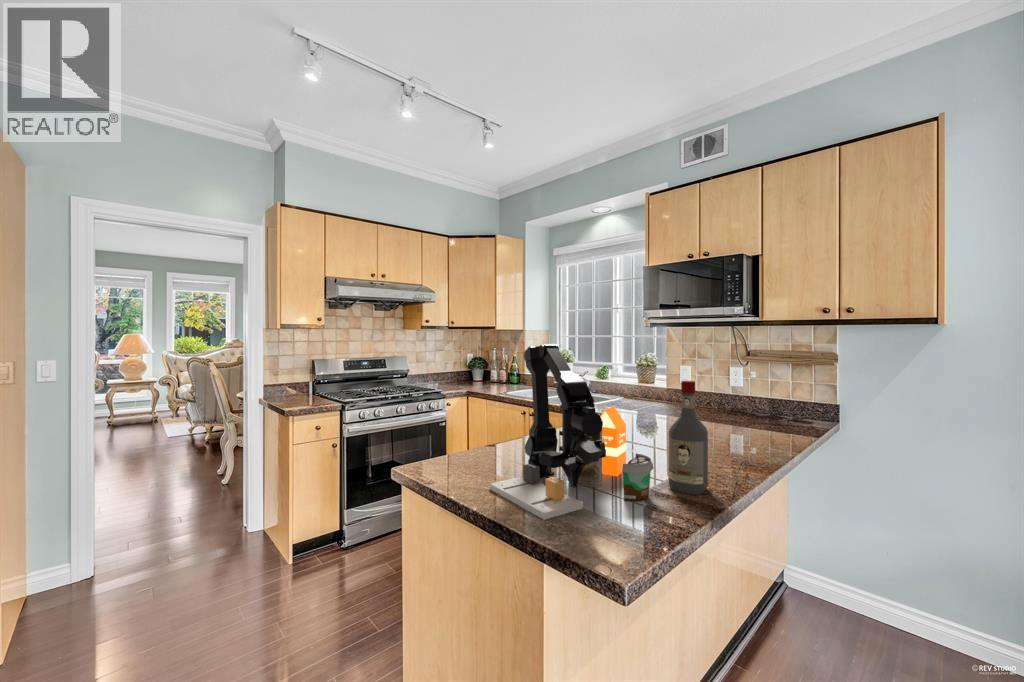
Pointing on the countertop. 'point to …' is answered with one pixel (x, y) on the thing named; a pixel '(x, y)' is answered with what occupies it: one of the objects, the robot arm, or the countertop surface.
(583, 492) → the countertop surface
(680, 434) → the liquor
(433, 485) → the countertop surface
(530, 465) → the block
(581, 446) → the robot arm
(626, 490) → the food container
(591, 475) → the coffee box
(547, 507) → the panel
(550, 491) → the orange fader
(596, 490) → the countertop surface
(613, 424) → the orange juice
